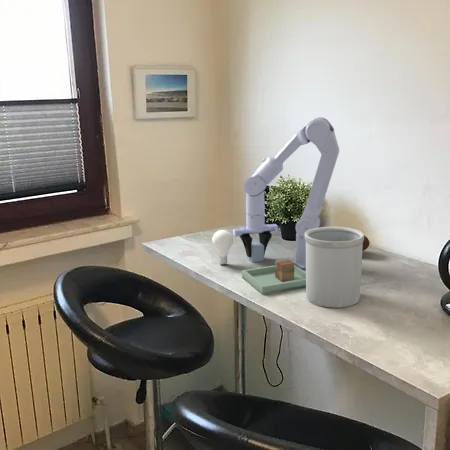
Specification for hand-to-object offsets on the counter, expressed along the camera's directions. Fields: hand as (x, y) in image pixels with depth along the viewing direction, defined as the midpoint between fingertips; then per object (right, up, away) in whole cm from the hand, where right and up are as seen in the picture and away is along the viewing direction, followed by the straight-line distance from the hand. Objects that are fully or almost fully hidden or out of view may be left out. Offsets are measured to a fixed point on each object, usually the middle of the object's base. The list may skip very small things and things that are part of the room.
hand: (255, 255), depth 178 cm
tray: (+5, -6, -18) cm, 20 cm away
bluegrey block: (0, -1, 0) cm, 1 cm away
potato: (+32, 0, +4) cm, 32 cm away
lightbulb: (-10, -3, -3) cm, 11 cm away
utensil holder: (+18, -10, -30) cm, 37 cm away
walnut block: (+7, -6, -18) cm, 20 cm away
